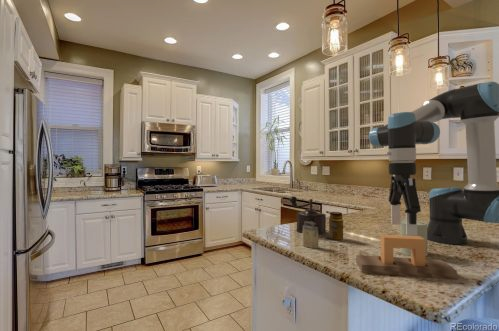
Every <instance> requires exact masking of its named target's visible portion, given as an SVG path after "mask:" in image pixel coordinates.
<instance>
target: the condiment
mask: <svg viewBox="0 0 499 331" xmlns="http://www.w3.org/2000/svg"><path fill="white" fill-rule="evenodd" d="M322 239H323V240H325V241H328V242H331V243H338V242H343V241H344V242H345V241H347V240H348V238H344V219H343V212H341V211H331V212H329V218H328V236H327V237H322Z"/></svg>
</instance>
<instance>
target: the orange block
mask: <svg viewBox="0 0 499 331" xmlns="http://www.w3.org/2000/svg"><path fill="white" fill-rule="evenodd" d="M395 248H396V249H400V248H409V249H411V256H410V258H411V263H412V264H413V265H414V266H425V259H426V256H425V239H424V238H422V237H420V236H406V235H400V234H380V256H381V262H382V264H393V257H394V249H395Z"/></svg>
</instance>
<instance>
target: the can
mask: <svg viewBox="0 0 499 331" xmlns="http://www.w3.org/2000/svg"><path fill="white" fill-rule="evenodd" d="M428 224H429V223H427V222H425V221H421V220H417V235H406V219H402V220H401V225H399V235H406V236H420V237H422V238H424V239H425V257H428V256H429V254H428V239H427V226H428ZM399 252H400V253H401V254H403V255H405V256H409V257H411V249H409V248H399Z"/></svg>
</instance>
